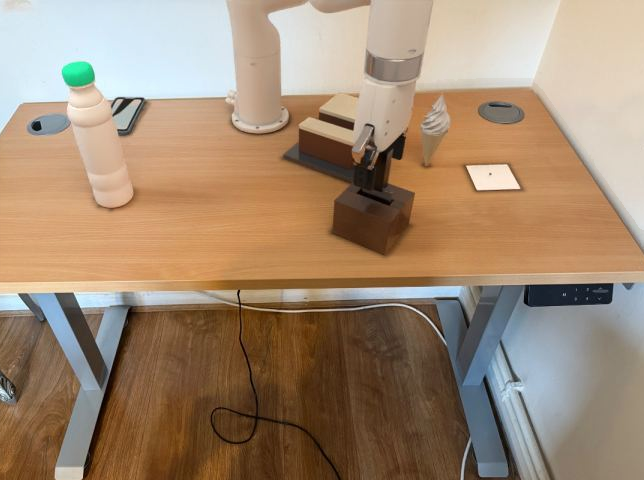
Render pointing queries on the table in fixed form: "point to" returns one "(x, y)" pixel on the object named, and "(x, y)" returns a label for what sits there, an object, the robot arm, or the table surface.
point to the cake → (341, 112)
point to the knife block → (372, 217)
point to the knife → (381, 179)
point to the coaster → (492, 177)
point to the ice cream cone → (434, 128)
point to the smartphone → (126, 112)
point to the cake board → (321, 164)
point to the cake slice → (326, 142)
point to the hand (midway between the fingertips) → (378, 171)
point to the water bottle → (96, 137)
